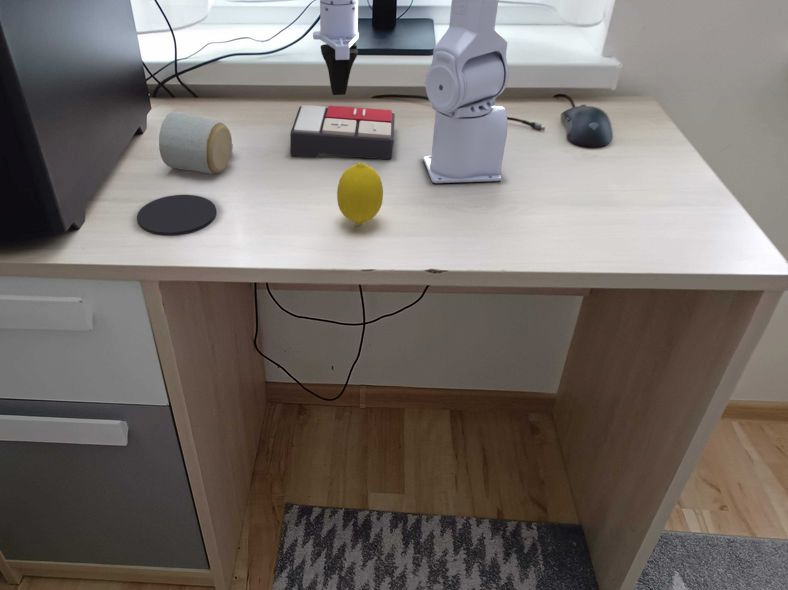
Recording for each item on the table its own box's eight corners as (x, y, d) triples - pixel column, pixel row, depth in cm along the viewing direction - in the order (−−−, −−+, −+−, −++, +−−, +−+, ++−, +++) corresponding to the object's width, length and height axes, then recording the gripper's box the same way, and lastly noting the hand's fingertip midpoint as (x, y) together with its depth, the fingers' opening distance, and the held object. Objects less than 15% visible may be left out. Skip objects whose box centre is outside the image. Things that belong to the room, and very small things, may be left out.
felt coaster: (219, 195, 87) (218, 193, 87) (213, 233, 79) (213, 230, 79) (144, 198, 87) (143, 196, 86) (131, 236, 79) (130, 234, 79)
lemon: (368, 239, 78) (370, 177, 73) (328, 227, 80) (328, 166, 75) (389, 220, 81) (392, 159, 76) (351, 209, 84) (352, 149, 78)
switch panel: (394, 135, 92) (290, 127, 93) (391, 163, 95) (289, 156, 96) (395, 107, 101) (299, 100, 102) (392, 134, 104) (299, 127, 104)
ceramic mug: (214, 183, 90) (207, 128, 85) (162, 175, 92) (153, 121, 87) (246, 154, 97) (242, 102, 92) (198, 147, 100) (191, 96, 95)
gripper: (310, -10, 102) (312, 79, 111) (314, 13, 91) (316, 110, 100) (355, -11, 102) (353, 78, 111) (364, 12, 91) (361, 108, 100)
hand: (338, 93), depth 106 cm, fingers closed
